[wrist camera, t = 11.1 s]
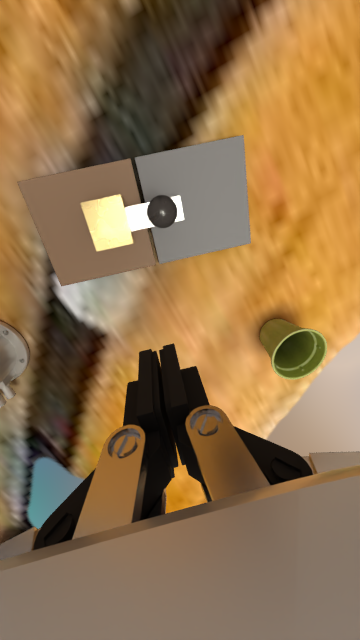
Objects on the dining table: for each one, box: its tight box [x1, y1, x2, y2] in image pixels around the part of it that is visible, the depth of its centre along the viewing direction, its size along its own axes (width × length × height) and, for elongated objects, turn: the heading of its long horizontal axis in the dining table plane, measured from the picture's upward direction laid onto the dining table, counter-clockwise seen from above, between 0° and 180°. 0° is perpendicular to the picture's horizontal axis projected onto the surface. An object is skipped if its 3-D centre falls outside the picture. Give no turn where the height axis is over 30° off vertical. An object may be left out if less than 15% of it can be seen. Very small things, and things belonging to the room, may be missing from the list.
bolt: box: [125, 195, 184, 231], centre depth 31 cm, size 4×12×6 cm, turn 101°
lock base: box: [17, 135, 251, 286], centre depth 34 cm, size 14×30×2 cm, turn 101°
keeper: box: [80, 194, 135, 251], centre depth 32 cm, size 6×5×4 cm
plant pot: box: [260, 319, 327, 379], centre depth 42 cm, size 9×9×9 cm
